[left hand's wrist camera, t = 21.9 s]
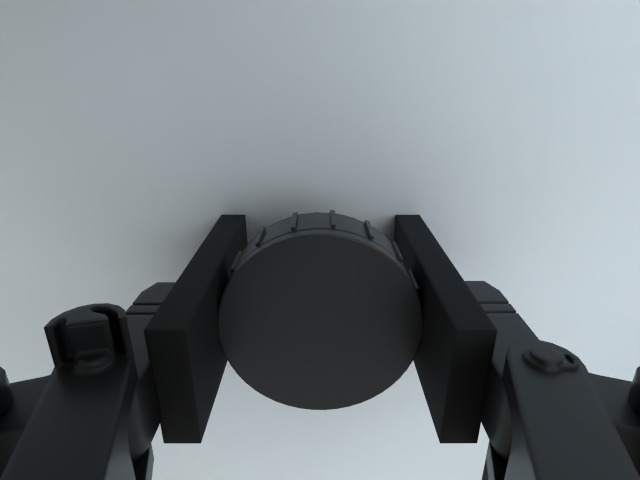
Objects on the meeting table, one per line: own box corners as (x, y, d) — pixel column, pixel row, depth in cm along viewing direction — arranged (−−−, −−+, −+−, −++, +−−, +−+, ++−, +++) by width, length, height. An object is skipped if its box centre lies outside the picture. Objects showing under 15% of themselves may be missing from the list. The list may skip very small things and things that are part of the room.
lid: (439, 335, 12) (455, 372, 11) (279, 395, 13) (274, 437, 11) (370, 177, 10) (379, 195, 9) (192, 257, 11) (173, 285, 10)
